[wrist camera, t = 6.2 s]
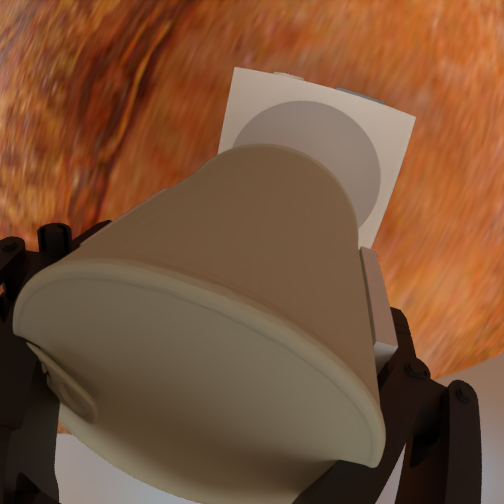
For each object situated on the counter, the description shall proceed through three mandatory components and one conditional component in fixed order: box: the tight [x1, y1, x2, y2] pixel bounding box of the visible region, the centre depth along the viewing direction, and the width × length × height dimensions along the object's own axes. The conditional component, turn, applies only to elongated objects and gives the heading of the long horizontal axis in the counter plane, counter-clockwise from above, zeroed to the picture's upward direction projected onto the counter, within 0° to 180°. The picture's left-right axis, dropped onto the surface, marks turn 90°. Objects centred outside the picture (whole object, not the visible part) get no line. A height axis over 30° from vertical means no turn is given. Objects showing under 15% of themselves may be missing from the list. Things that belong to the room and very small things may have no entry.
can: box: [13, 144, 386, 504], centre depth 11 cm, size 9×9×12 cm
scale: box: [217, 67, 416, 249], centre depth 28 cm, size 16×16×5 cm
